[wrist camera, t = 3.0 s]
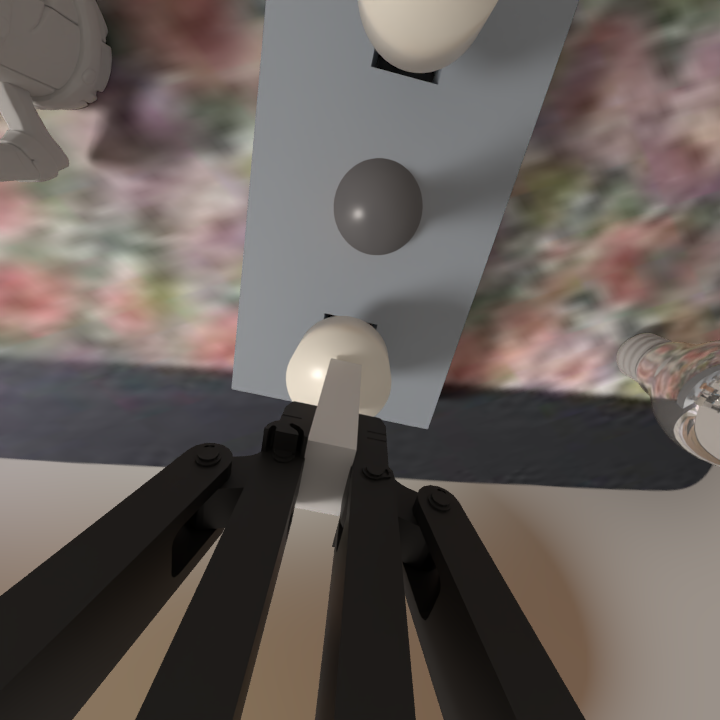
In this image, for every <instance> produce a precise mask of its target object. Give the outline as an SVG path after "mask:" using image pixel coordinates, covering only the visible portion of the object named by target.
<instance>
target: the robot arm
mask: <svg viewBox="0 0 720 720" xmlns="http://www.w3.org/2000/svg"><path fill="white" fill-rule="evenodd" d="M361 370H362V365H361V364H356V363H352V362H347V361H342V360H338V359H333V358H331V360H330V363H329V367H328V370H327V374H326V377H325V381H324V384H323V388H322V391H321V395H320V398H319V402H318V405H317V406H315V405H311V404H306V403H301V402H296V401H293V402H292V403H290V404H289V405H288V406H286V408H285V410H284V412H283V415H282V416H281V419H280V420H279V421H274V422H272V423H269V424H268V425H267V426H266V427H265V428H264V435H263V442H262V450H261V452H260V453H258V454H255V455H251V456H241V457H232V453H231V451H230V450H229V449H228V448H227V447H225V446H223V445H220V444H216V443H204V444H200V445H196V446H194V447H192V448H191V449H189V450H187V451H186V452H185V453H183V454H182V455H181V456H180V457H178V458H177V459H176V460H174V461H173V462H172V463H171V464H169V465H168V466H167V467H165V468H164V469H163V470H162V471H160V472H159V473H158V474H157V475H155V476H154V477H153V478H151V479H150V480H149V481H148V482H146V483H145V484H144V485H142V486H141V487H140V488H139V489H137V490H136V491H135V492H133V493H132V494H131V495H130V496H128V497H127V498H126V499H124V500H123V501H122V502H121V503H119V504H118V505H117V506H115V507H114V508H113V509H112V510H110V511H109V512H108V513H106V514H105V515H104V516H103V517H101V518H100V519H99V520H98V521H96V522H95V523H94V524H93V525H91V526H90V527H88V528H87V529H86V530H85V531H83V532H82V533H81V534H80V535H78V536H77V537H76V538H74V539H73V540H72V541H71V542H69V543H68V544H67V545H65V546H64V547H63V548H62V549H60V550H59V551H58V552H56V553H55V554H54V555H53V556H51V557H50V558H49V559H47V560H46V561H45V562H44V563H42V564H41V565H40V566H38V567H37V568H36V569H35V570H33V571H32V572H31V573H29V574H28V575H27V576H26V577H24V578H23V579H22V580H21V581H19V582H18V583H17V584H15V585H14V586H13V587H11V588H10V589H9V590H8V591H6V592H5V593H4V594H3V595H1V596H0V720H72V719H73V718H74V717H75V716H76V714H77V713H78V712H79V711H80V709H81V708H82V707H83V706H84V704H85V703H86V702H87V701H88V699H89V698H90V697H91V696H92V694H93V693H94V692H95V691H96V689H97V688H98V687H99V686H100V684H101V683H102V682H103V681H104V679H105V678H106V677H107V676H108V674H109V673H110V672H111V671H112V669H113V668H114V667H115V666H116V664H117V663H118V662H119V661H120V660H121V658H122V657H123V656H124V655H125V653H126V652H127V650H129V648H130V647H131V646H132V645H133V643H134V642H135V641H136V639H137V638H138V637H139V636H140V634H141V633H142V632H143V631H144V630H145V628H146V627H147V626H148V625H149V623H150V622H151V621H152V620H153V618H154V617H155V616H156V615H157V613H158V612H159V611H160V610H161V608H162V607H163V606H164V605H165V603H166V602H167V601H168V600H169V598H170V597H171V596H172V595H173V593H174V592H175V591H176V590H177V588H178V587H179V586H180V585H181V584H182V582H183V581H184V580H185V578H186V577H187V576H188V575H189V574H190V572H191V571H192V570H193V568H194V567H195V566H196V565H197V563H198V562H199V561H200V560H201V558H202V557H203V556H204V555H205V553H206V552H207V551H208V550H209V549H210V547H211V546H212V545H213V544H214V542H215V541H216V540H217V539H218V537H219V536H220V535H221V534H222V532H223V530H224V532H223V534H222V536H221V538H220V540H219V542H218V544H217V547H216V549H215V551H214V553H213V555H212V557H211V559H210V562H209V564H208V566H207V568H206V570H205V572H204V574H203V577H202V579H201V581H200V583H199V585H198V587H197V589H196V592H195V593H194V596H193V598H192V600H191V602H190V604H189V606H188V609H187V611H186V613H185V615H184V617H183V619H182V621H181V624H180V625H179V628H178V630H177V632H176V634H175V636H174V639H173V641H172V643H171V645H170V647H169V649H168V651H167V653H166V655H165V657H164V660H163V662H162V664H161V666H160V668H159V670H158V673H157V675H156V677H155V679H154V681H153V683H152V685H151V688H150V690H149V692H148V694H147V696H146V698H145V700H144V702H143V704H142V707H141V709H140V711H139V713H138V715H137V718H136V719H135V720H241V715H242V712H243V708H244V704H245V700H246V696H247V692H248V689H249V685H250V681H251V677H252V673H253V669H254V665H255V662H256V658H257V654H258V650H259V646H260V642H261V638H262V634H263V631H264V627H265V623H266V619H267V615H268V611H269V607H270V603H271V599H272V596H273V592H274V588H275V584H276V580H277V576H278V572H279V568H280V565H281V561H282V557H283V553H284V549H285V545H286V541H287V538H288V534H289V530H290V526H291V522H292V517H293V512H294V508H299V509H304V510H310V511H315V512H320V513H325V514H331V515H336V516H339V514H340V519H339V523H338V527H337V530H336V534H335V538H334V542H333V545H332V547H335V549H334V558H333V566H332V575H331V584H330V593H329V601H328V610H327V620H326V628H325V638H324V645H323V655H322V663H321V672H320V681H319V690H318V698H317V707H316V717H315V720H416V718H415V707H414V695H413V684H412V673H411V662H410V650H409V638H408V626H407V615H406V604H405V596H406V599H407V603H408V606H409V609H410V612H411V615H412V619H413V622H414V625H415V628H416V631H417V635H418V638H419V641H420V645H421V648H422V651H423V654H424V657H425V661H426V664H427V667H428V670H429V673H430V677H431V680H432V683H433V686H434V690H435V693H436V696H437V699H438V703H439V706H440V709H441V712H442V715H443V719H444V720H585V718H584V716H583V715H582V713H581V712H580V709H579V708H578V706H577V704H576V703H575V701H574V699H573V697H572V696H571V694H570V692H569V690H568V689H567V687H566V685H565V684H564V682H563V680H562V678H561V677H560V675H559V673H558V672H557V670H556V668H555V666H554V665H553V663H552V661H551V660H550V658H549V656H548V654H547V653H546V651H545V649H544V647H543V646H542V644H541V642H540V641H539V639H538V637H537V635H536V634H535V632H534V630H533V629H532V627H531V625H530V623H529V622H528V620H527V618H526V617H525V615H524V613H523V612H522V610H521V608H520V606H519V604H518V603H517V601H516V600H515V598H514V596H513V594H512V593H511V591H510V589H509V587H508V586H507V584H506V582H505V581H504V579H503V577H502V575H501V574H500V572H499V570H498V569H497V567H496V565H495V564H494V562H493V560H492V558H491V556H490V555H489V553H488V552H487V550H486V548H485V546H484V544H483V543H482V541H481V539H480V538H479V536H478V534H477V532H476V531H475V529H474V527H473V525H472V524H471V522H470V521H469V519H468V517H467V516H466V513H465V512H464V510H463V508H462V506H461V505H460V503H459V502H458V501H457V499H456V498H455V497H454V495H452V494H451V493H449V492H448V491H447V490H445V489H443V488H440V487H438V486H432V485H429V486H424V487H422V488H421V489H420V490H419V492H415V491H413V490H411V489H409V488H407V487H405V486H403V485H401V484H400V483H399V482H397V481H396V480H395V478H394V474H393V471H392V470H391V469H390V468H389V467H388V453H387V443H386V442H387V439H386V426H385V425H384V423H383V422H382V420H381V419H380V418H377V417H372V416H368V415H363V414H359V402H360V386H361ZM340 510H341V512H340ZM224 528H225V529H224Z"/></svg>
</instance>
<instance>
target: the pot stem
mask: <svg viewBox="0 0 720 720" xmlns="http://www.w3.org/2000/svg"><path fill="white" fill-rule="evenodd" d="M422 210H423V201H422V194H421V191H420V188H419V185H418V183H417V181H416V179H415V178H414V176H413V175H412V174H411V172H410V171H409V170H408V169H406V168H405V167H404V166H403V165H401V164H400V163H398V162H396V161H393V160H390V159H385V158H373V159H368V160H365V161H362V162H360V163H358V164H357V165H355V166H354V167H352V168H351V169H350V170H349V171H348V172H347V173H346V174H345V175H344V177H343V178H342V180H341V181H340V183H339V185H338V188H337V190H336V194H335V198H334V218H335V222H336V225H337V227H338V230H339V232H340V234H341V235H342V237H343V238H344V239H345V240H346V242H347V243H348V244H349V245H351V246H352V247H353V248H355V249H356V250H358V251H360V252H362V253H365V254H369V255H385V254H389V253H392V252H395V251H397V250H398V249H400V248H401V247H403V246H404V245H405V244H406V243H408V242H409V241H410V239H411V238H412V237H413V235H414V234H415V232H416V231H417V228H418V226H419V224H420V221H421V217H422Z"/></svg>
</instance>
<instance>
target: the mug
mask: <svg viewBox="0 0 720 720" xmlns="http://www.w3.org/2000/svg"><path fill="white" fill-rule="evenodd" d="M107 34H108V29H107V26H106V23H105V20H104V18H103V15H102V13H101V11H100V9H99V7H98V5H97V3H96V1H95V0H0V112H1V114H2V116H3V118H4V120H5V121H6V123H7V125H8V127H9V129H10V130H7V131H6V133H5V135H4V136H3V137H2V138H1V139H0V182H4V181H14V180H17V181H19V182H42V181H47V180H50V179H52V178H55V177H56V176H57V175H58V171H59V170H62V169H64V168H66V167H68V166H69V160H68V158H67V156H66V155H65V153H64V152H63V150H62V149H61V148H60V146H59V145H58V144H57V143H56V142H55V141H54V139H53V138H52V137H51V135H50V134H49V132H48V131H47V129H46V127H45V126H44V124H43V122H42V120H41V118H40V117H39V115H38V113H37V111H36V109H40V110H59V109H62V110H75V109H80V108H83V107H86V106H88V104H87V102H88V103H92V102H94V101H95V100H97V95H96V92H97V91H99V92H103V91H104V89H105V87H106V85H107V83H108V80H109V77H110V73H111V64H112V51H111V47H110V46H108V45H106V44H105V43H106V36H107Z"/></svg>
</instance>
